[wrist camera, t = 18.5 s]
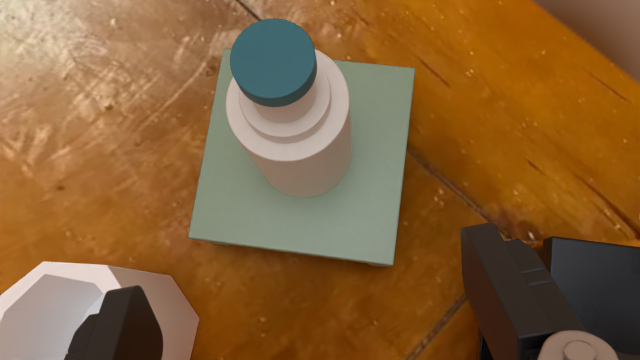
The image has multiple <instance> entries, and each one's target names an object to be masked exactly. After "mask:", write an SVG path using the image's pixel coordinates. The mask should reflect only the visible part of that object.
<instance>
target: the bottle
mask: <svg viewBox="0 0 640 360" xmlns="http://www.w3.org/2000/svg"><path fill="white" fill-rule="evenodd" d="M230 67H231V71H232V75H233V78H232V80H231V82H230V85H229V87H228V91H227V95H226V114H227V119H228V123H229V125H230V128H231V130H232V132H233V133H234V135H235V137H236V138H237V139H238V141H239V142H240V144H241V145H242V146H243V148H244V149H245V151H246V152H247V153H248V155H249V156H250V158H251V159H252V160H253V162H254V163H255V165H256V166H257V168H258V169H259V170H260V172H261V173H262V175H263V176H264V177H265V179H266V180H267V181H268V182H269V183H270V184H271V185H272V186H273V187H274V188H275V189H277V190H278V191H280V192H282V193H284V194H286V195H289V196H293V197H300V198H306V197H313V196H317V195H320V194H323V193H325V192H327V191H329V190H330V189H332V188H333V187H334V186H335V185H337V184H338V183H339V181H340V180H341V179H342V178H343V176H344V175H345V173H346V171H347V169H348V167H349V164H350V160H351V124H350V98H349V90H348V85H347V83H346V80H345V77H344V76H343V74H342V72H341V70H340V69H339V68H338V66H337V65H336V64H335V63H334V62H333V61H332V60H331V59H330V58H329V57H328V56H326V55H325V54H323V53H322V52H320V51H318V50H316V49H315V48H314V45H313V42H312V40H311V38H310V37H309V35H308V34H307V33H306V32H305V31H304V30H303V29H302V28H301V27H300V26H298V25H296V24H295V23H292V22H290V21H287V20H283V19H266V20H262V21H259V22H256V23H254V24H252V25H251V26H249V27H247V28H246V29H245V30H244V31H243V32H242V33H241V34H240V35H239V36H238V38H237V39H236V41H235V43H234V45H233V47H232V50H231V54H230Z"/></svg>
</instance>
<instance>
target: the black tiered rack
mask: <svg viewBox="0 0 640 360" xmlns="http://www.w3.org/2000/svg"><path fill="white" fill-rule="evenodd" d="M532 249H534V250H535V251H536V252H537V254H538V255H539V257H540V259H541V260H542V262H543V263H544V265H545V266H546V270H548V271H549V273H550V274H551V276H552V277H553V279H554V283H556V284H557V285H558V287H559V289H560V290H561V292H562V293H563V295H564V296H565V298H566V300H567V301H568V303H569V304H570V306H571V307H572V309H573V311H574V312H575V314H576V315H577V317H578V319H579V320H580V322H581V323H582V325H583V326H584V328H585V329H586V331H587V332H588V333H590V334H593V335H595V336H597V337H599V338H601V339H602V340H604V341H605V342H606V343H608V344H609V345H610V346H611V347H612V349H613V350H615V351H618V352H621V353H625V354H631V355H639V356H640V247H633V246H625V245H618V244H610V243H602V242H594V241H586V240H578V239H570V238H563V237H555V236H552V237H549V238H546V239H544V240H543V245H540V246H537V247H534V248H532ZM476 360H494V359H493V357H492V355H491V352H490V350H489V347H488V345H487V343H486V340H485V338H484V336H483V333H482V331H481V329H480V326H479V330H478V343H477V356H476Z"/></svg>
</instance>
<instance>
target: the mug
mask: <svg viewBox="0 0 640 360" xmlns="http://www.w3.org/2000/svg"><path fill="white" fill-rule="evenodd" d="M135 285H139V286H141V287H142V289H143V290H144V292H145V295H146V297H147V299H148V301H149V303H150V306H151V308H152V310H153V312H154V314H155V317H156V319H157V321H158V323H159V325H160V328H161V331H162V336H163V354H162V359H161V360H190V358H191V353H192V349H193V345H194V340H195V336H196V332H197V327H198V323H199V319H200V318H199V317H198V315H197V314H196V312H195V311H194V309H193V308H192V306H191V305H190V303H189V302H188V300H187V299H186V297H185V296H184V295H183V293H182V292H181V290H180V289H179V287H178V286H177V284H176V283H175V281H174V280H173V278H172V277H171V276H170V275H164V274H158V273H152V272H146V271H140V270H134V269H128V268H122V267H116V266H109V265H96V264H78V263H59V262H42V263H41V264H40V265H38V266H37V267H36V268H35V269H33V270H32V271H31V272H29V273H28V274H27V275H26V276H24V277H23V278H22V279H21V280H19V281H18V282H17V283H16V284H14V285H13V286H12V287H11V288H9V289H8V290H7V291H6V292H4V293H3V294H2V295H0V360H64V358H65V356H66V354H68V348H69V346H70V343H71V340H72V338H73V335H74V333H75V331H76V330H77V329H78V328H79V326H80V325H81V324H82V323H83V322H84V320H85V319H86V318H87V317H88V316H89V315H91V314H97V313H99V310H100V307H101V305H102V302H103V299H104V296H105V294H106V292H107V291H109V290H113V289H119V288H124V287H130V286H135Z"/></svg>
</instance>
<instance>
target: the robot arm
mask: <svg viewBox="0 0 640 360" xmlns="http://www.w3.org/2000/svg"><path fill="white" fill-rule="evenodd" d="M461 254H462V275H463V282H464V287H465V291H466V294H467V297H468V300H469V303H470V305H471V307H472V310H473V312H474V314H475V317H476V319H477V321H478V324H479V326H480V329H481V331H482V333H483V336H484V338H485V340H486V343H487V345H488V347H489V350H490V352H491V355H492V357H493V359H494V360H640V356H639V355H631V354H625V353H621V352H618V351H615V350H613V349H612V347H611V346H610V345H609V344H608V343H606V342H605V341H604V340H602V339H601V338H599V337H597V336H595V335H593V334H590V333H588V332H587V331H586V329H585V328H584V326H583V325H582V323H581V322H580V320H579V319H578V317H577V315H576V314H575V312H574V311H573V309H572V307H571V306H570V304H569V303H568V301H567V300H566V298H565V296H564V295H563V293H562V292H561V290H560V289H559V287H558V285H557V284H556V283H554V279H553V277H552V276H551V274H550V273H549V271H548V270H546V266H545V265H544V263H543V262H542V260H541V259H540V257H539V255H538V254H537V252H536V251H535V250H534V249H532V248H531V247H529V246H528V245H526V244H525V243H524V242H522V241H521V240H519V239H515V240H510V241H504V240H503V239H502V237H501V235H500V233H499V232H498V230H497V228H496V226H495V225H494V224H493V223H492V222H490V223H485V224H479V225H474V226H468V227H462V228H461ZM162 354H163V336H162V331H161V328H160V325H159V323H158V321H157V319H156V317H155V314H154V312H153V310H152V308H151V306H150V303H149V301H148V299H147V297H146V295H145V292H144V290H143V289H142V287H141V286H139V285H135V286H130V287H124V288H119V289H113V290H109V291H107V292H106V294H105V296H104V299H103V302H102V305H101V307H100V310H99V313H97V314H91V315H89V316H88V317H87V318H86V319H85V320H84V322H83V323H82V324H81V325H80V326H79V328H78V329H77V330H76V331H75V333H74V335H73V338H72V340H71V343H70V346H69V348H68V354H66V356H65V358H64V360H161V359H162Z"/></svg>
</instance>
